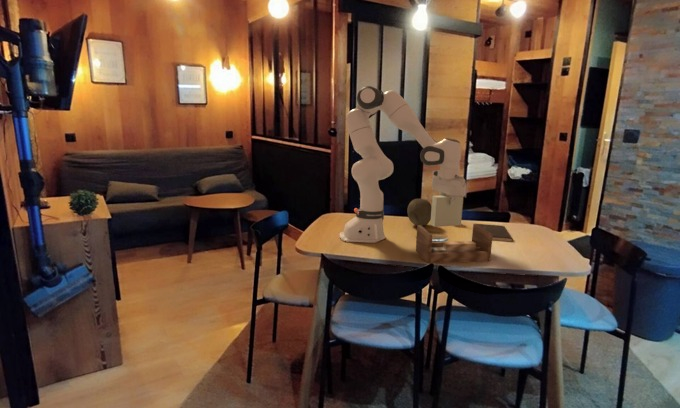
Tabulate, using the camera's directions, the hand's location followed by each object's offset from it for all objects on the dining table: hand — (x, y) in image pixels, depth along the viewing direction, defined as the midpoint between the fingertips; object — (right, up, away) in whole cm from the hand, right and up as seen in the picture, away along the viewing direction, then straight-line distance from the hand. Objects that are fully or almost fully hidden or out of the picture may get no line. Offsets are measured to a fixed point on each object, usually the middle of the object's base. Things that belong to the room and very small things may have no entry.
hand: (447, 203), depth 190 cm
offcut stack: (-2, -24, -18) cm, 30 cm away
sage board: (0, -10, +2) cm, 11 cm away
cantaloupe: (-7, -13, +32) cm, 35 cm away
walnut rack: (-2, -23, -14) cm, 27 cm away
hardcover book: (+29, -17, +20) cm, 39 cm away
